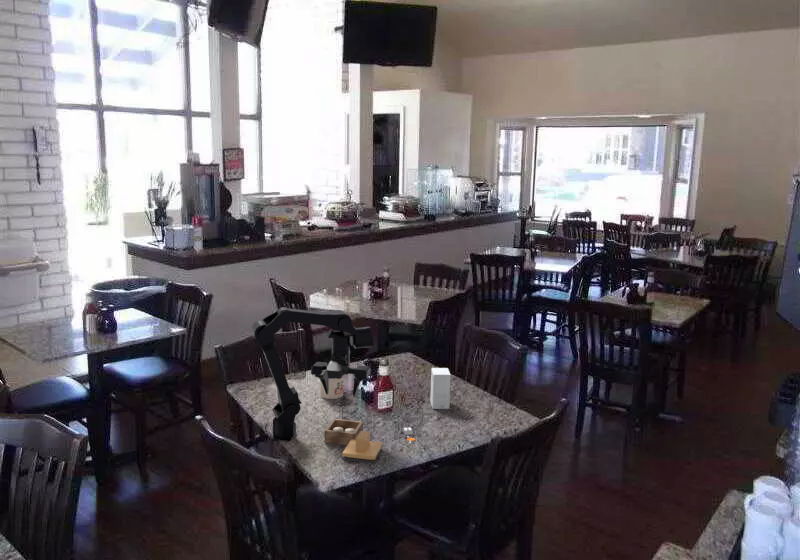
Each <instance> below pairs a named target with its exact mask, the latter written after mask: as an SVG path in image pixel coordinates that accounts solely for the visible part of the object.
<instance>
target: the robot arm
mask: <svg viewBox="0 0 800 560" xmlns="http://www.w3.org/2000/svg"><path fill="white" fill-rule="evenodd" d="M288 322H289V323H296V324H304V325H305V324H307V325H315V326H323V327H325V328H326V327H327V328H329V331H327V332H326V333H325V336H326V337H327V338H328V339H331V354H330V360H329V362H325V361H323V362H322V361H316V362H315V363H314V364H313V365H312V366H311V367H310V375H314V377H315V378H318V379H319V380H321V382H322V384H323V387H324V390H325V392H326V394H328V391H329V378H337V379H341V378H342V376H343V377H344V376H345V375H346V376H347V375H354V378H353V391H352V395H353V396H352V397H356V394H357V392H358V389H359V387H360V384H361V382H363V381H365V380H367V379H368V378H369V376H370V375H371V367H370V366H369V365H359V364H358V365H357V367H350V366H351V362H350V355H351V350H350V346H353V348H354V349H355V350H356V349H364V348H365V349H367V348H372V347H373V346H374V336H373V332H372V327H370V325H369V326H368V325H367V326H364V327H363V326H362V327H355V326H354V325H353V324H352V318H351V316H350V315H348V314H347V313H346V312H345V311H343V310H341V309H335V310H334V309H333V310H327V311H315V310H307V309H297V308H290V307H289V308H288V307H286V306H284V307H282V306H281V307H280V308H278V309H277V310H276V311H274V312H273V313H271V314H269V315H267V316H265V317H264V318H262V319H261V320H257V321H255V322H254V323H253V324H252V326H251V330H250V331H251V334H252V335H253V337H254V339H255V340H256V341H257V344H258V345H259V347H260V348H261V350H262V351H263V355H264V358H265V360H266V363H267V364H268V368H269V371H270V373H271V377H272V379H273V381H274V383H275V386H276V390H277V391H276V392H277V394H276V395H277V398H278V403H276V405H274V406H273V408H272V409H271V410H272V413H273V415H274V417H273V418H272V436H271V437H270V439H271V440H275V441H284V442H291V441H292V439H293V438H294V437H295V436H296V435H297V422H295V419H296V416H297V415H298V414H299V413H300V411H301V408H302V407H301V405H302V401H301V400H300V397H299V393H298V391H297V389H296V388H295V386H292V387H290V386H289V383H288V380H287V377H286V374H285V371H284V368H283V367H282V363H281V361H280V359H279V356H278V353H277V349H276V343H275V336H274V335H276V333H278V332H279V331H280V330H281V329H282V327H284V326H285V324H287V323H288Z"/></svg>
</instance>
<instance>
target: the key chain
mask: <svg viewBox="0 0 800 560" xmlns="http://www.w3.org/2000/svg"><path fill="white" fill-rule="evenodd" d="M401 431H402V433H403V435H404V436H405V437H406V438H407V439H406V440H407V441H408V444H411V443H412V442H414V441H415V440H416V439H415V438H414V436H415V435H414V430H413V428H412V427H408V426H407V427H402V428H401Z"/></svg>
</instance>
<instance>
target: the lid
mask: <svg viewBox="0 0 800 560" xmlns="http://www.w3.org/2000/svg"><path fill="white" fill-rule="evenodd" d="M382 447H383V442H381V441H380V442H379V441H371V432H370V431H367V430H366V431H364V430H363V431H360V433H359V434H358V436H357V437H356V440H354V439H351V441H350V442H349V444H348V445H346V447H345V448H344V450H343V452H342V453H341V454H342V457H344V456H346V457H349V458H358V459H367V460H372V459H373V460H375V459H376V457H377V455H378V453H379V451H380V449H382Z"/></svg>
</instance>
